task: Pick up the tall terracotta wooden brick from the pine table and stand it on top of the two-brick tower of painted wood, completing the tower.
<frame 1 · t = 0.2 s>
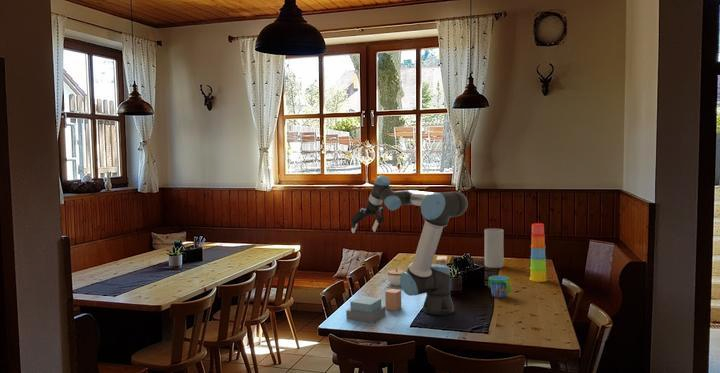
hand: (363, 231, 295), 36 cm above the table, tool tilted 35°, fingers open, 13 cm apart
cylinder vase: (494, 266, 361), on the table
stacking cups: (538, 280, 322), on the table
snack cup: (499, 296, 289), on the table
lidded jar: (396, 284, 318), on the table
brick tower: (366, 316, 258), on the table
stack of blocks: (442, 275, 340), on the table
terracotta brick: (393, 308, 270), on the table
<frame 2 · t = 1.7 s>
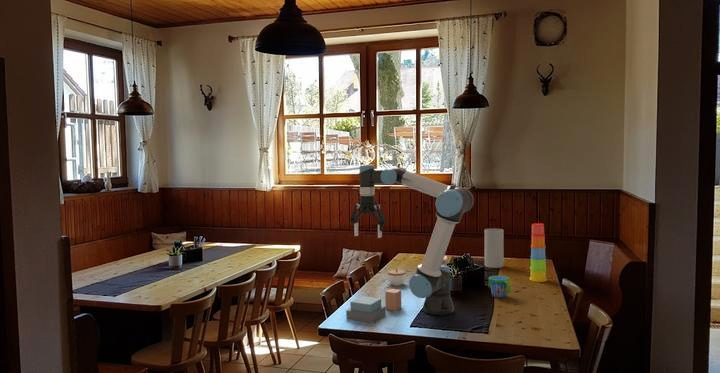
hand: (368, 236, 270), 37 cm above the table, tool pointing down, fingers open, 13 cm apart
nothing on the table moved.
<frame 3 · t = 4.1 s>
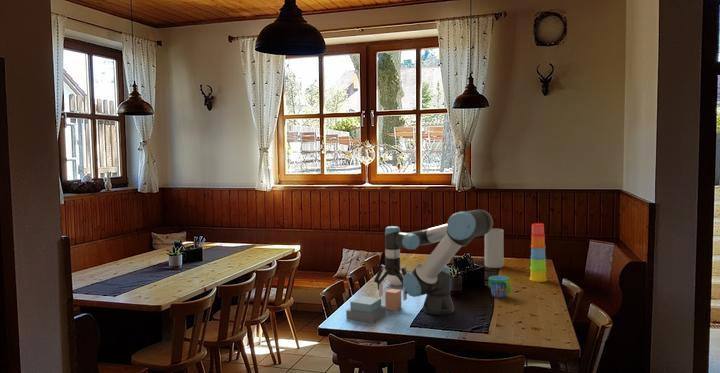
hand: (392, 298, 270), 5 cm above the table, tool pointing down, fingers open, 13 cm apart
nothing on the table moved.
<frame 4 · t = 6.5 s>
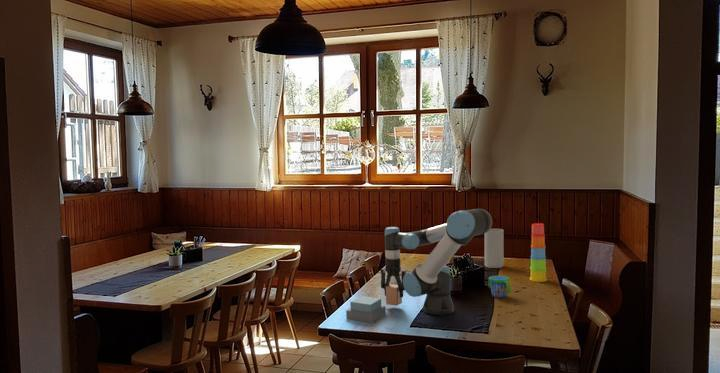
hand: (394, 302, 270), 3 cm above the table, tool pointing down, fingers closed on terracotta brick, 6 cm apart
terracotta brick: (394, 303, 270), point 3 cm above the table, touching gripper
everything else where it was.
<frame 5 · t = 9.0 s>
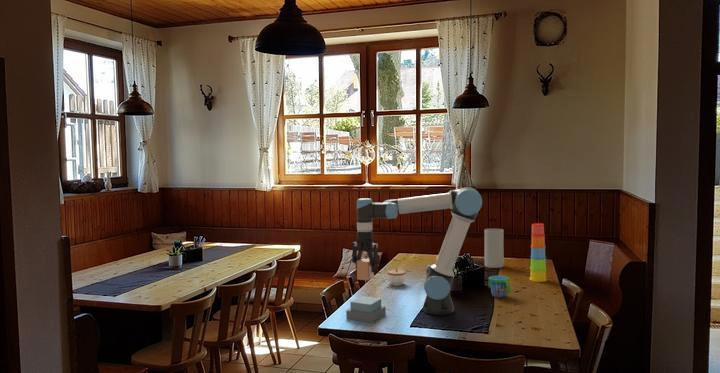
hand: (365, 277, 256), 19 cm above the table, tool pointing down, fingers closed on terracotta brick, 6 cm apart
terracotta brick: (365, 278, 256), point 19 cm above the table, touching gripper
everything else where it was.
when the fingers open (9 cm above the table, at t = 11.5 s): terracotta brick stays where it is, resting on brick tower.
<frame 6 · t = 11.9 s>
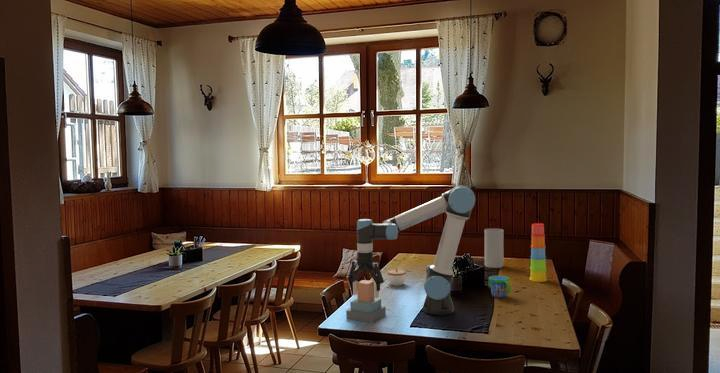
hand: (365, 296, 257), 10 cm above the table, tool pointing down, fingers open, 11 cm apart
terracotta brick: (366, 300, 257), point 8 cm above the table, touching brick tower
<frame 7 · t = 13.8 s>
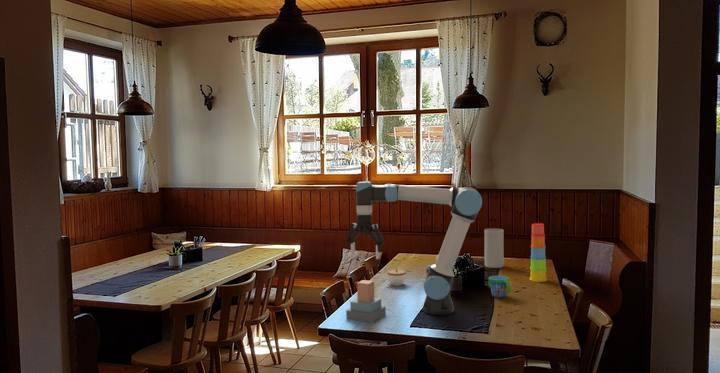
hand: (365, 257, 256), 29 cm above the table, tool pointing down, fingers open, 13 cm apart
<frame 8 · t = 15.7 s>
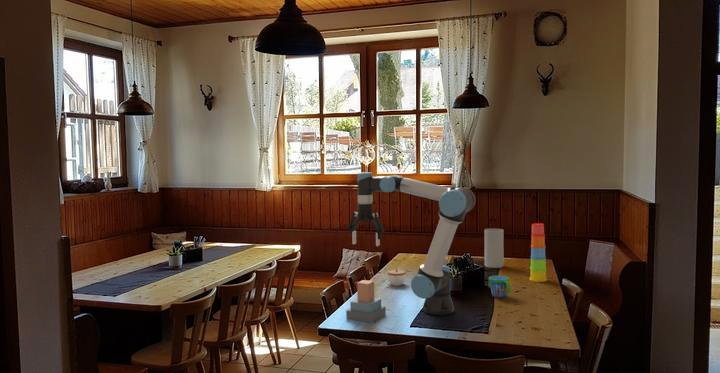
hand: (366, 244, 269), 33 cm above the table, tool pointing down, fingers open, 13 cm apart
at the end: terracotta brick inside the target area on the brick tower (0.1 cm from its centre), point 8.0 cm above the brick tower's base; terracotta brick tilted 0°; the gripper is holding nothing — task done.
